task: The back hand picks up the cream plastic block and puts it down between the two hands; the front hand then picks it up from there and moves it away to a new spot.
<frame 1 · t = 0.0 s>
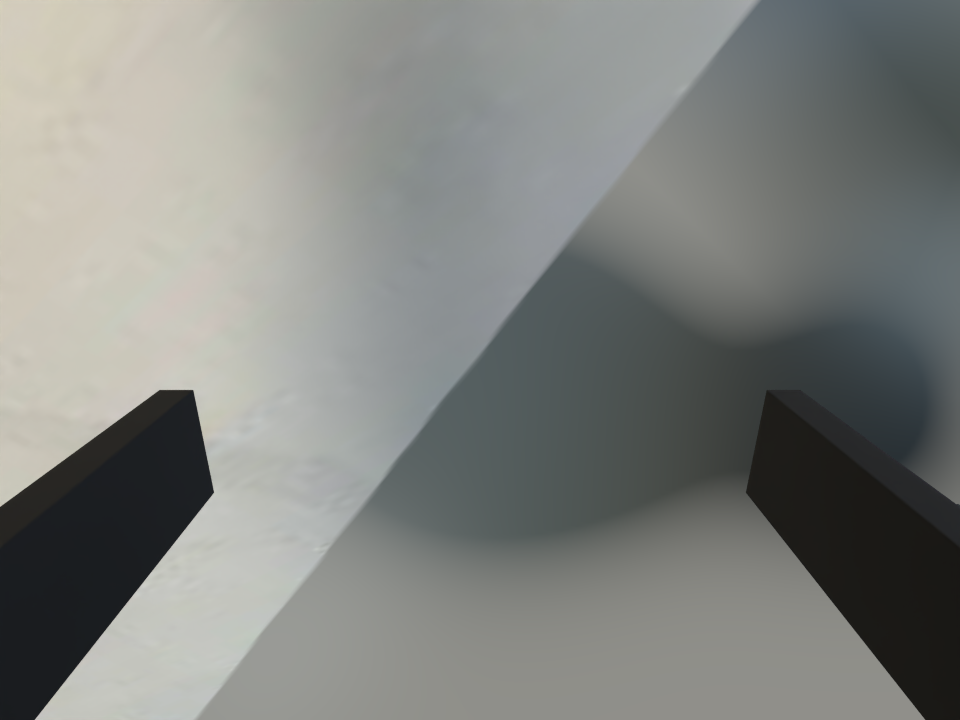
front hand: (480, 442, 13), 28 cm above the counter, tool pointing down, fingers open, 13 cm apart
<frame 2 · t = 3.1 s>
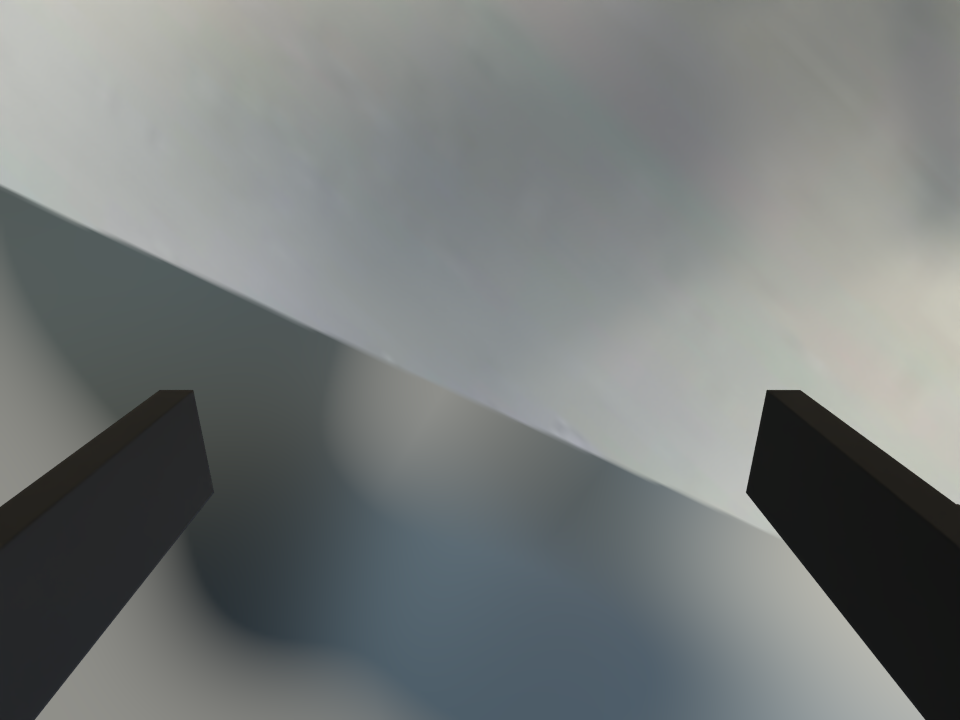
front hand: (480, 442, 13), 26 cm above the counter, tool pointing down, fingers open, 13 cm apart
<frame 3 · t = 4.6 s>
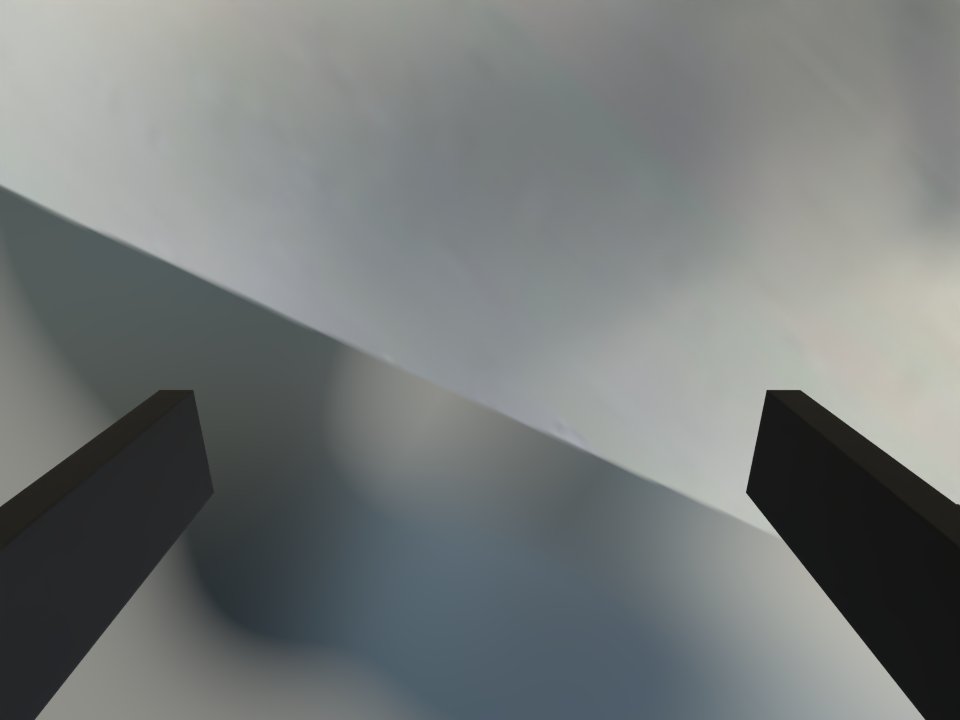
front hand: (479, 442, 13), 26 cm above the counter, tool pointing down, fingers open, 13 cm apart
when the back hand's fingers open (3 cm above the counter, at t = 6.6 s): block drops 1 cm, on the counter.
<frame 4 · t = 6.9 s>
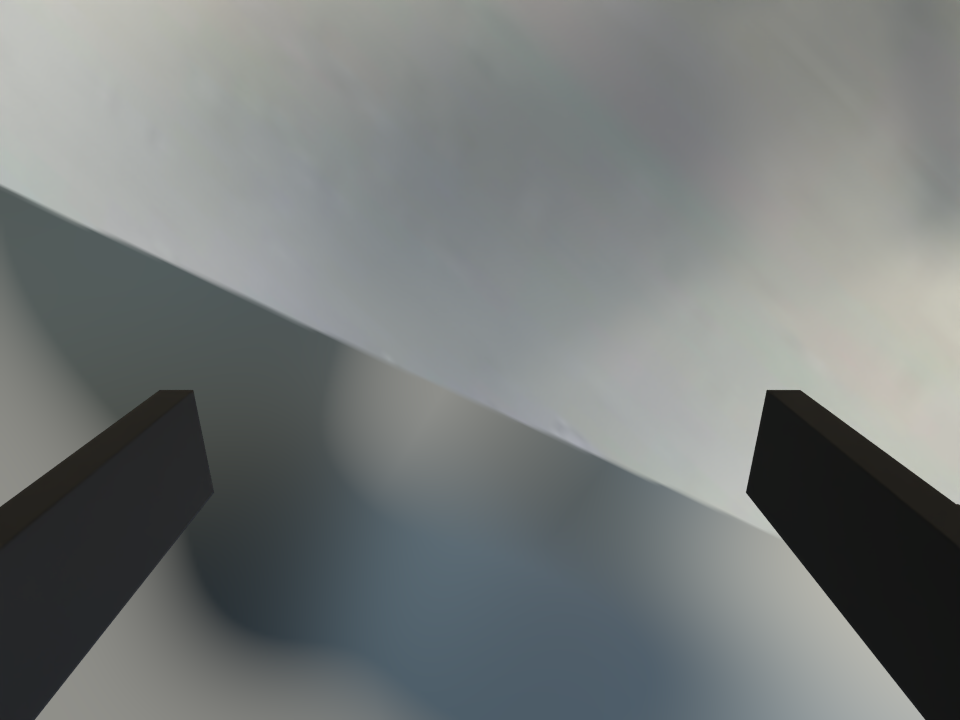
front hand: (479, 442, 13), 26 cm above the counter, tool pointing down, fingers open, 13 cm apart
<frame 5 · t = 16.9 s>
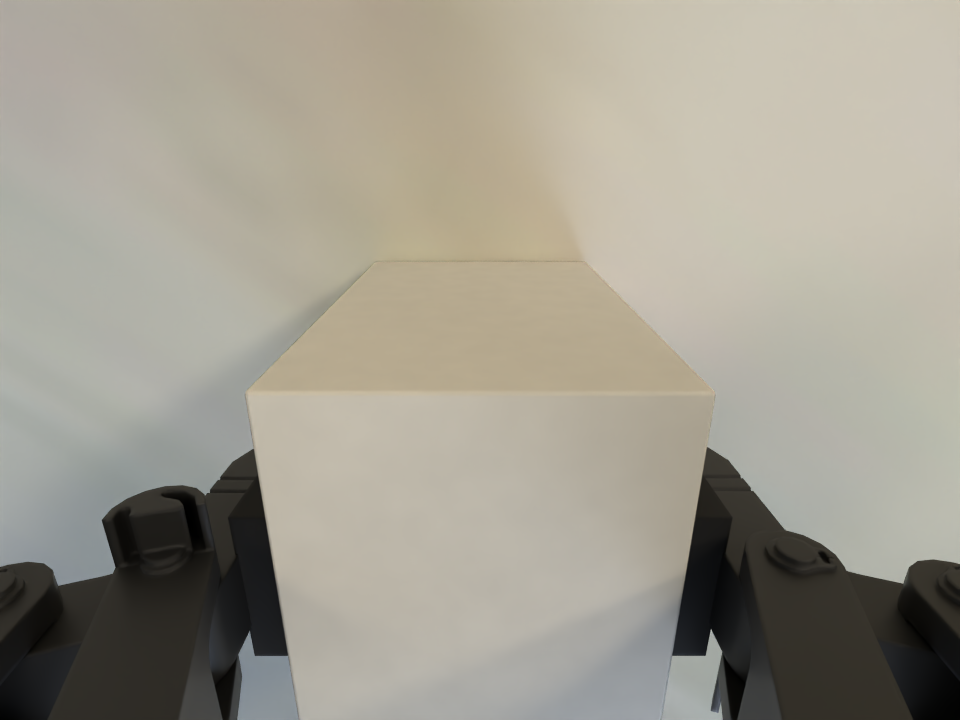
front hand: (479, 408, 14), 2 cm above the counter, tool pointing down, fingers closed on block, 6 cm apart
block: (480, 380, 16), on the counter, touching front hand
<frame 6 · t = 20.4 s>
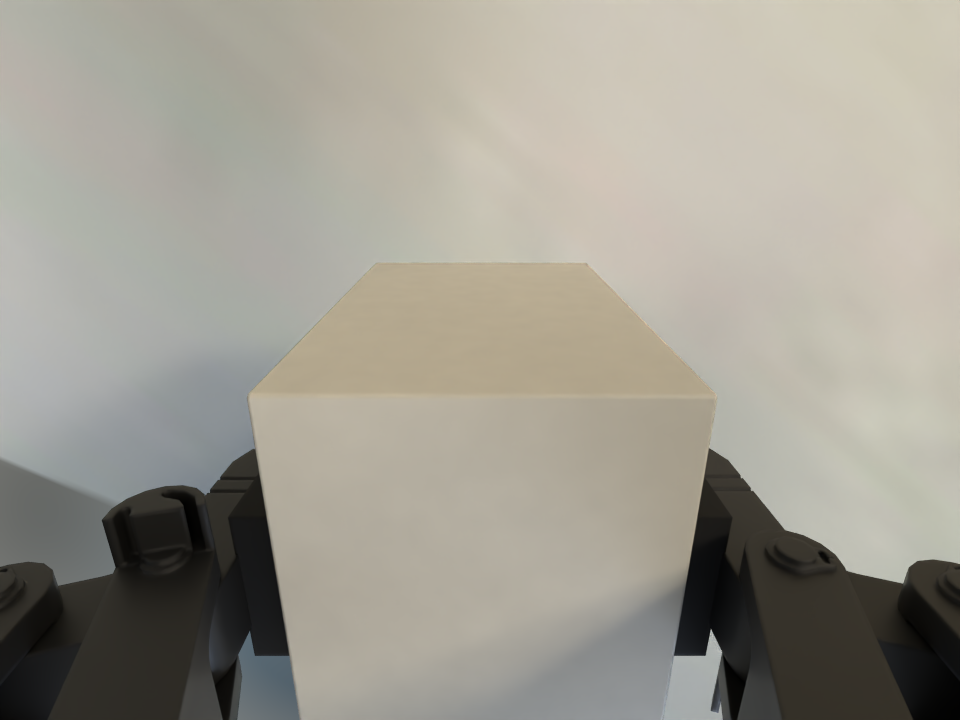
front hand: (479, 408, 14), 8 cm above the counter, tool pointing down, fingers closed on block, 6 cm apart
block: (481, 381, 16), point 6 cm above the counter, touching front hand
when the front hand's fingers open (3 cm above the counter, at t = 24.3 s): block drops 1 cm, on the counter.
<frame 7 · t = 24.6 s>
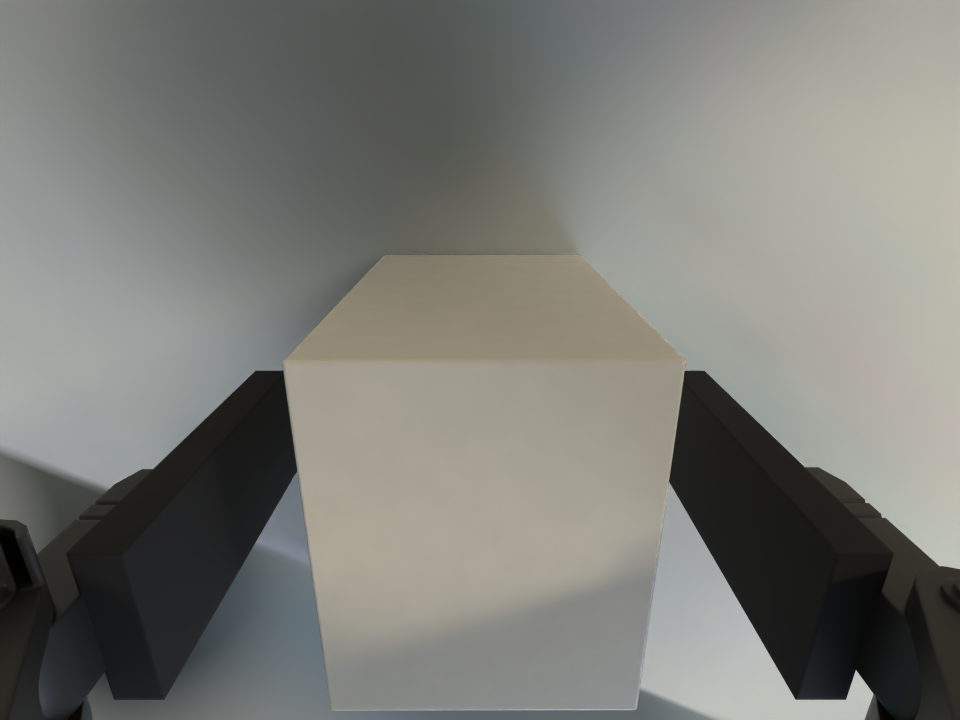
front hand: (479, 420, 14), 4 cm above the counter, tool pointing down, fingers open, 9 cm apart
block: (481, 366, 17), on the counter
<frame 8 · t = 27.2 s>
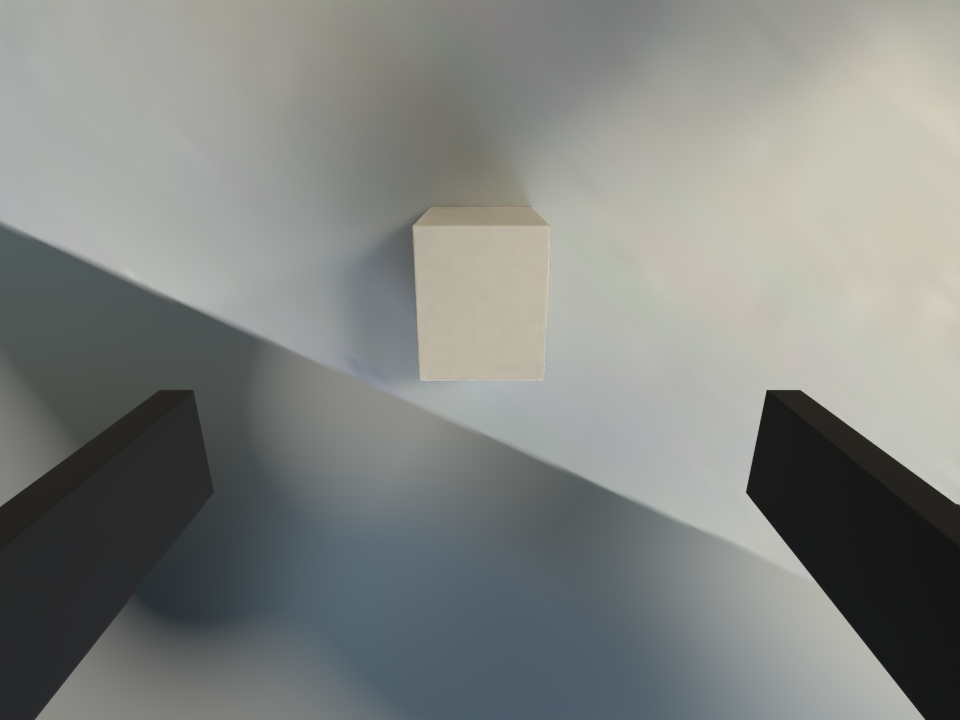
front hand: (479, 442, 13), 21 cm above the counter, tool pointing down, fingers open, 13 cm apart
block: (480, 268, 33), on the counter
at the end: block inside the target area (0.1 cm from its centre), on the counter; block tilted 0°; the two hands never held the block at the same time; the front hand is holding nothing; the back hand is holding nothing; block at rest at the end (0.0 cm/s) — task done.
